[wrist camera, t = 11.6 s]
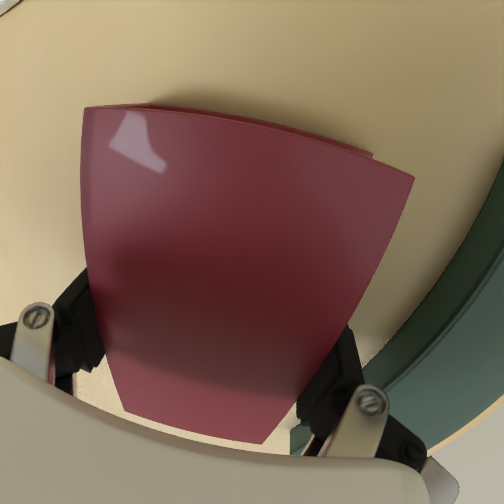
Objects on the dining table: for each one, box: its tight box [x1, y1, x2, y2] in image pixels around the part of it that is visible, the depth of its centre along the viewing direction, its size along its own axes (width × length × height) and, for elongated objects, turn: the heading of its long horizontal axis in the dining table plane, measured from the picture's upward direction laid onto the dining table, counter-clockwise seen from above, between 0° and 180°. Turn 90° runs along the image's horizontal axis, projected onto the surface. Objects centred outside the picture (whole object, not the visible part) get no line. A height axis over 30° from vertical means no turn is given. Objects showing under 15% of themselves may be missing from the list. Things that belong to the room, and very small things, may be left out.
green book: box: [290, 162, 504, 456], centre depth 11 cm, size 20×14×2 cm
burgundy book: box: [80, 104, 415, 444], centre depth 9 cm, size 13×7×3 cm, turn 168°
